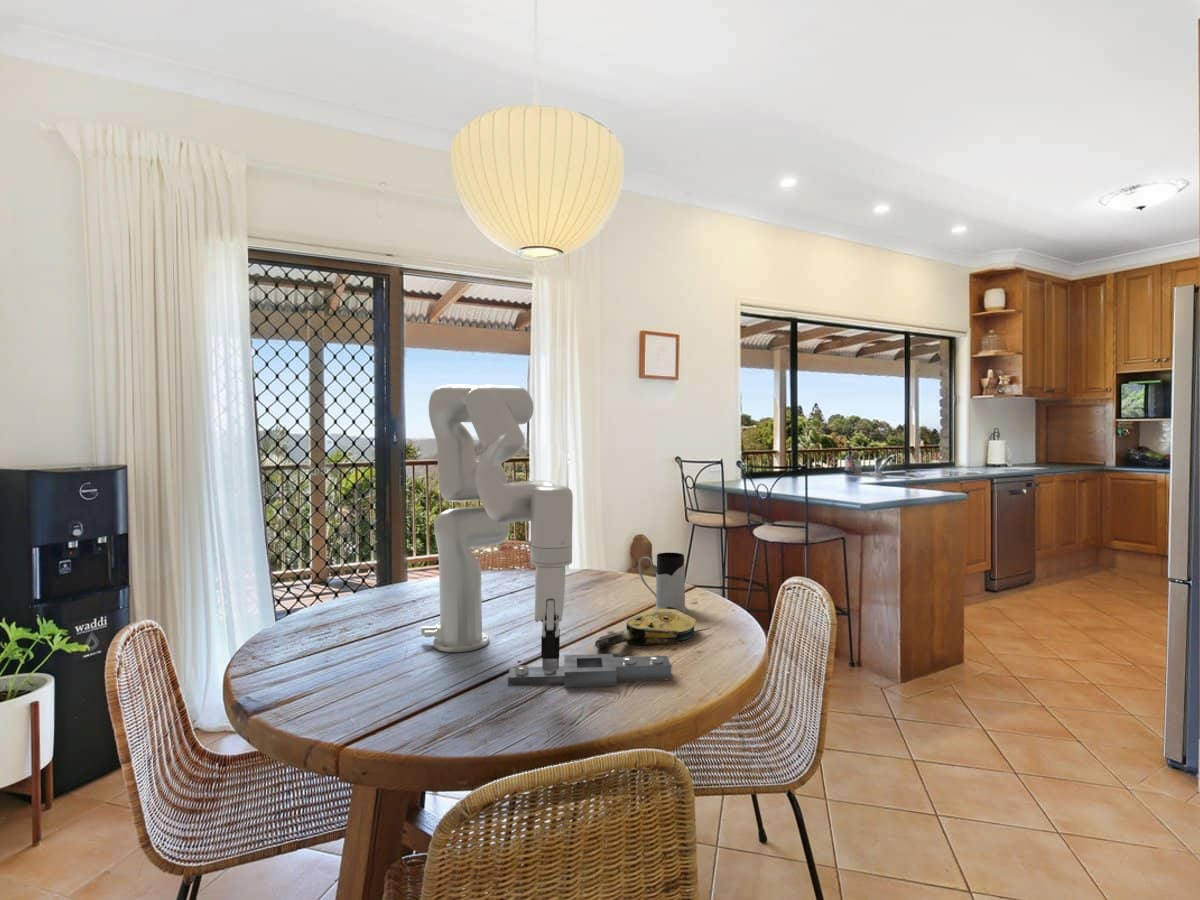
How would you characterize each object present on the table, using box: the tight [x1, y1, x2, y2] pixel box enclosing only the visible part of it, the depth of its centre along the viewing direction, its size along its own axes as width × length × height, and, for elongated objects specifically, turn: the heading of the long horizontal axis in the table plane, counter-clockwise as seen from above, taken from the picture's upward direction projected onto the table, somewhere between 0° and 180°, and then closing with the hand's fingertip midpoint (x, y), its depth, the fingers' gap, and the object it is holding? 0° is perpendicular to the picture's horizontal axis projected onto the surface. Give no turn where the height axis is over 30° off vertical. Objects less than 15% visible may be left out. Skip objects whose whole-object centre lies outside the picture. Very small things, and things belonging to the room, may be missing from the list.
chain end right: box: [563, 653, 672, 683], centre depth 123 cm, size 21×9×4 cm, turn 93°
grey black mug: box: [638, 552, 687, 613], centre depth 170 cm, size 9×14×15 cm, turn 58°
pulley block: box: [593, 607, 711, 649], centre depth 145 cm, size 14×6×30 cm
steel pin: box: [540, 617, 560, 671], centre depth 111 cm, size 4×4×10 cm
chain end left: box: [507, 664, 617, 689], centre depth 122 cm, size 21×9×2 cm, turn 93°
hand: (550, 653), depth 111 cm, fingers closed on steel pin, 3 cm apart
